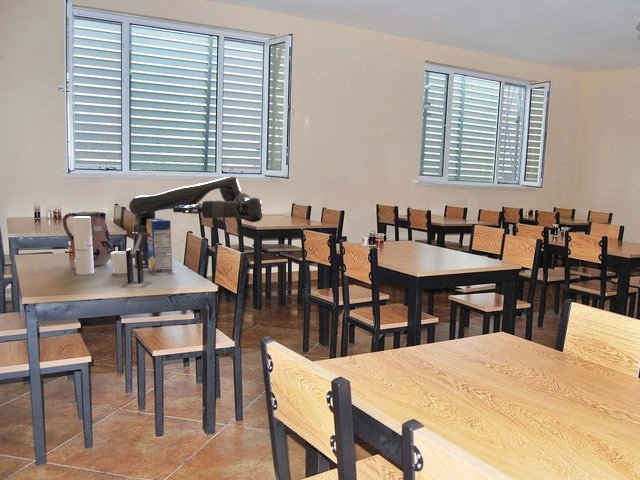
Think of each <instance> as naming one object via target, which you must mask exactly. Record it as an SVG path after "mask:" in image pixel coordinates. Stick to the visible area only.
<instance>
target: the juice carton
mask: <svg viewBox="0 0 640 480" xmlns="http://www.w3.org/2000/svg"><path fill="white" fill-rule="evenodd" d="M146 222H147V233H150V237H147V244H148V265H149V267H148V272H153V273H154V274H157V273H158V274H159V273H170V272H171V273H172V272H173V254H172V253H173V251H172V229H171V220H170V219H167V218H165V217H162V218H161V217H160V218H159V217H158V218H157V217H155V219H146Z"/></svg>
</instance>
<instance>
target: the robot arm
mask: <svg viewBox="0 0 640 480" xmlns="http://www.w3.org/2000/svg"><path fill="white" fill-rule="evenodd" d="M218 189H219V192H220V196H221V198H222V200H212V199H211V200H209V199H207V200H206V199H205V200H203V199H204V198H205V197H206V196H207V195H208V194H209V193H211V192H212V191H215V190H218ZM201 201H202V202H201ZM199 202H201V204H200V203H199ZM128 208H129V211H130V212H131V213H132V214H133V215H135V217H134V222H133V224H132V230H133V231H132V233H147V222H146V219H156V212H159V211H165V210H166V211H167V210H172V212H173V213H181V214H188V215H199V214H202V217H203V218H204V219H225V218H228V219H229V218H231V219H239V220H243V221H246V222H249V223H258V222H260V221H262V219H263V203H262V200H261V199H260V198H259V197H251V196H250V195H249V194H248V193H245V192H244V193H243V192H242V189H241V186H240V184H239V181H238V178H237V177H235V176H227V177H221V178H219V179H215V180H211V181H208V182H204V183H198V184H194V185H188V186H183V187H178V188H174V189H171V190H168V191H164V192H161V193H158V194H153V195H139V196H135V197H134V198H132V199H131V200H130V201H129V204H128ZM137 240H138V237H136V236H133V249H134V248H135V245H136V243H137ZM138 249H142V259H143V268H149V265H148V244H147V237H142V239H141V242H140V245H139V247H138ZM134 267H136V268H137V258H134Z"/></svg>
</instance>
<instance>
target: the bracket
mask: <svg viewBox="0 0 640 480" xmlns="http://www.w3.org/2000/svg"><path fill="white" fill-rule="evenodd" d="M132 249H133V248H127V249H126V250H125V251H126V262H127V273H126V278H127V284H131V283H133V282H134V279H135V278H134V263H133V258H131V256H130V252H131V250H132ZM136 257H137V267H136V275H137V283H138V284H141V283H143V282H144V279H145V278H144V267H143V259H142V249H138V250H136Z"/></svg>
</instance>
